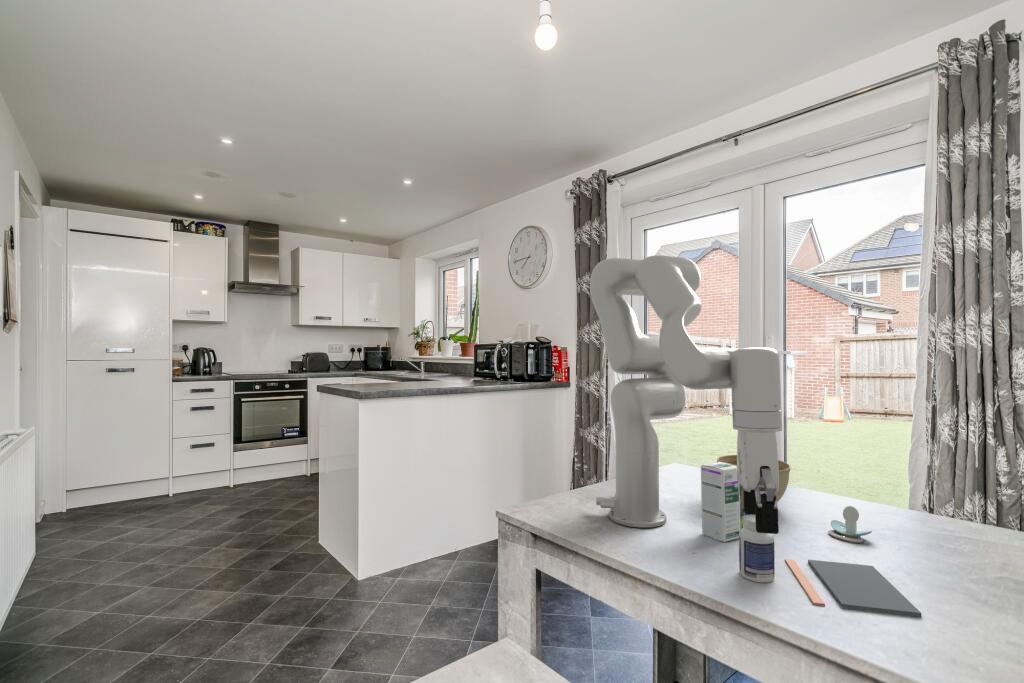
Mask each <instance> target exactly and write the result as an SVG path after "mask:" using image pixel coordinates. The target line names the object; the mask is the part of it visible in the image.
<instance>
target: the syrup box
mask: <svg viewBox="0 0 1024 683" xmlns="http://www.w3.org/2000/svg"><path fill="white" fill-rule="evenodd" d="M700 492H701V493H700V495H701V496H700V497H701V533H702V534H704V536H705V535H706V536H707V537H709V536H710V538H712V537H713V538H712V539H714V538H715V539H714V540H717V539H718V540H717V541H719V540H720V542H722V541H723V542H722V543H727V542H729V541H733V540H739V531H740V530H741V529H742V528H744V525H743V517H744V510H743V497H742V485H741V484H740V483H739V481H738V479H737V465H734V464H729V463H723V462H718V463H717V462H714V463H708V464H701V465H700Z"/></svg>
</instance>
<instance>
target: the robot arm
mask: <svg viewBox="0 0 1024 683" xmlns="http://www.w3.org/2000/svg"><path fill="white" fill-rule="evenodd" d="M701 275H702V274H701V271H700V269H699V266H698V265H697V264H696V263H695V262H694V261H693V260H691V259H689V258H686V257H680V256H669V255H661V254H660V255H659V254H655V255H649V256H647V257H645V258H643V259H633V258H623V257H621V258H620V257H619V258H618V257H614V258H612V257H611V258H606V259H603V260H601V261H599V262H598V263H597V264H596V265H595V266H594V267H593V269H592V272H591V276H590V279H589V292H590V298H591V301H592V305H593V308H594V310H595V312H596V314H597V317H598V320H599V322H600V326H601V331H602V332H601V333H602V336H603V341H604V345H605V350H606V354H607V359H608V362H609V365H610V367H611V369H612V371H613V372H615V373H617V374H620V375H647V377H641V378H638V377H637V378H635V377H634V378H628V379H623V380H621V381H619V382H617V384H615V385H614V386H613V388H612V390H611V393H610V407H611V410H612V414H613V415H612V416H613V423H614V432H615V433H614V434H615V444H614V445H615V447H614V448H615V493H614V496H610V497H604V496H596V499H595V500H596V501H595V503H596V506H600V509H609V511H608V517H609V520H611V521H613V522H614V523H616V524H618V525H622V526H626V527H632V528H640V529H641V528H646V529H647V528H656V527H659V526H660V527H661V526H662V525H664V524H666V522H667V515H666V513H665V512H664V511H662V510H660V448H659V447H660V446H659V445H660V444H659V438H658V435H657V432H656V430H655V428H654V426H653V425H652V422H651V421H655V420H663V419H664V420H665V419H672V418H676V417H678V416H680V415H681V414H682V413H683V411H684V410H685V406H686V398H687V397H686V392H685V388H687V389H690V390H695V391H696V390H697V391H700V390H701V391H702V390H703V391H704V390H725V389H726V390H727V389H731V408H732V409H731V411H732V412H731V413H732V414H731V416H732V429H733V430H735V431H737V437H736V438H737V440H736V441H737V442H736V455H737V479H738V481H739V483H740V484H741V485H742V487H743V488H744V490H746V491H743V492H744V510H743V513H744V514H745V515H755V521H756V531H757V532H758V533H769V534H773V535H777V534H779V530H780V529H779V508H778V502H777V498H776V495H775V493H776V492H777V491H778V490H779V467H778V460H779V452H778V441H777V432H782V431H783V423H782V422H783V418H782V393H781V391H782V389H781V388H782V387H781V367H780V366H781V365H780V364H781V363H780V362H781V361H780V355H779V353H778V351H777V350H776V349H774V348H771V347H744V348H743V347H741V348H732V347H698V346H697V345H696V344H695V343H694V341H693V340H692V339H691V337H690V335H689V333H688V332H687V330H686V327H688V326H689V325H690V324H691V323H693V322H694V321H695V320H696V319H697V318H698V316H699V315H700V313H701V311H702V307H703V306H702V302H701V300H700V298H699V297H698V296H697V294H696V291H697V290H698V288H700V286H701V285H700V284H701V280H702V278H701ZM624 295H626V296H642V297H645V298H646V300H647V301H648V304H649V305H650V306H651V308H652V309H653V311H654V312H655V314H656V315H657V317H658V319H659V320H660V322H661V325H660V329H659V334H651V333H649V334H648V333H647V334H646V333H645V334H644V333H643V332H641V329H640V327H639V323H638V319H637V316H636V315H637V314H635V311H634V309H633V308H632V307H631V305H630V304H629V303H628V302H627V301H626V300H625V299H624V297H623V296H624ZM762 487H764V488H762Z"/></svg>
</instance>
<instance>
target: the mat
mask: <svg viewBox="0 0 1024 683" xmlns="http://www.w3.org/2000/svg"><path fill="white" fill-rule="evenodd" d="M807 564H808V565H809V566H810V567H811V569H812V570H813V571H814V572H816V573H815V574H816V575H817V577H818V578H819V579H820V580H821V582H822V583H823V585H824V587H826V589H827V590H828V591H829V593H830V594H831V595H832V598H834V600H835V601H836V603H838V604H839V606H840V607H841V608H842V609H848V610H849V609H850V610H857V611H863V612H864V611H865V612H875V613H883V614H888V615H889V614H891V615H897V616H898V615H900V616H907V617H908V616H909V617H916V618H922V612H921V611H920V610H919V609H918V608H917V607H916V606H915V605H914V604H913V603H911V601H909V599H907V597H906V596H904V595H903V593H901V592H900V591H899V590H898V589H897V588H896V587H895V586H894V585H893V584H892V583H891V582H890V581H889V580H888V579H887V578H886V577H885V576H884V575H882V573H880V572H879V571H878V570H877V568H875V567H874V566H873V565H867V564H858V563H849V562H848V563H847V562H837V561H836V562H835V561H829V560H827V561H826V560H819V559H818V560H816V559H807Z"/></svg>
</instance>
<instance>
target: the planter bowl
mask: <svg viewBox="0 0 1024 683" xmlns="http://www.w3.org/2000/svg"><path fill="white" fill-rule="evenodd" d="M718 462H723V463H729V464H734V465H737V454H728V455H727V454H725V455H721V456H719V457H717V458H716V463H718ZM778 467H779V490H778V491H777V492H776V493H775V495H776V498H777V503H779V502H780V500H781V499H782V498H783V496H784V494H785V493H786V490H787V488H788V485H789V481H790V473H791V465H790V464H789V463H787V462H786V461H782V460H779V459H778ZM762 488H764V487H762ZM743 491H746V490H744V488H743V487H742V497H743V511H744V492H743Z"/></svg>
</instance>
